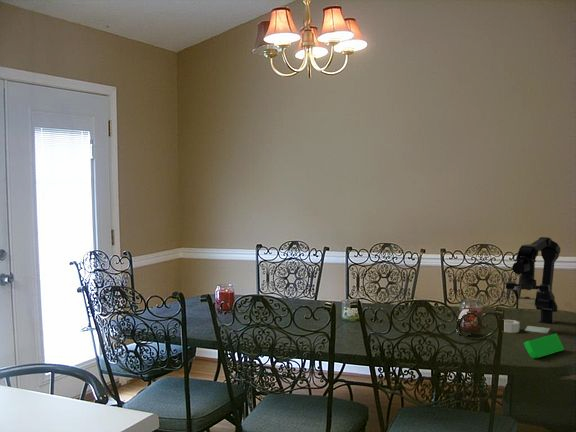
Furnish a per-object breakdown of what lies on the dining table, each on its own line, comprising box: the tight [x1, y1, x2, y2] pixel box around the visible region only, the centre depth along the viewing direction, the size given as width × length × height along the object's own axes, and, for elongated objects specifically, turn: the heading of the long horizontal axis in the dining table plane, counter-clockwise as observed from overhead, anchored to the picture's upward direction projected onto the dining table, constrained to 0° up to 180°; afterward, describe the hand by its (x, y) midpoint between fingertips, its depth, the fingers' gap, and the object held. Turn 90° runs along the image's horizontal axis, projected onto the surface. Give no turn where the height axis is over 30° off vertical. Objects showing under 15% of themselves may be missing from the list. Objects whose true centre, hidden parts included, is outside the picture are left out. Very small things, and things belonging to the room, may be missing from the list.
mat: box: [524, 325, 551, 334], centre depth 272 cm, size 10×10×1 cm
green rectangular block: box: [523, 332, 565, 359], centre depth 237 cm, size 20×10×7 cm, turn 124°
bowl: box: [503, 319, 520, 334], centre depth 271 cm, size 8×8×4 cm
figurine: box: [456, 308, 469, 333], centre depth 265 cm, size 7×8×12 cm
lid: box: [517, 296, 536, 310], centre depth 270 cm, size 7×7×5 cm
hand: (527, 304), depth 270 cm, fingers closed on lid, 7 cm apart
